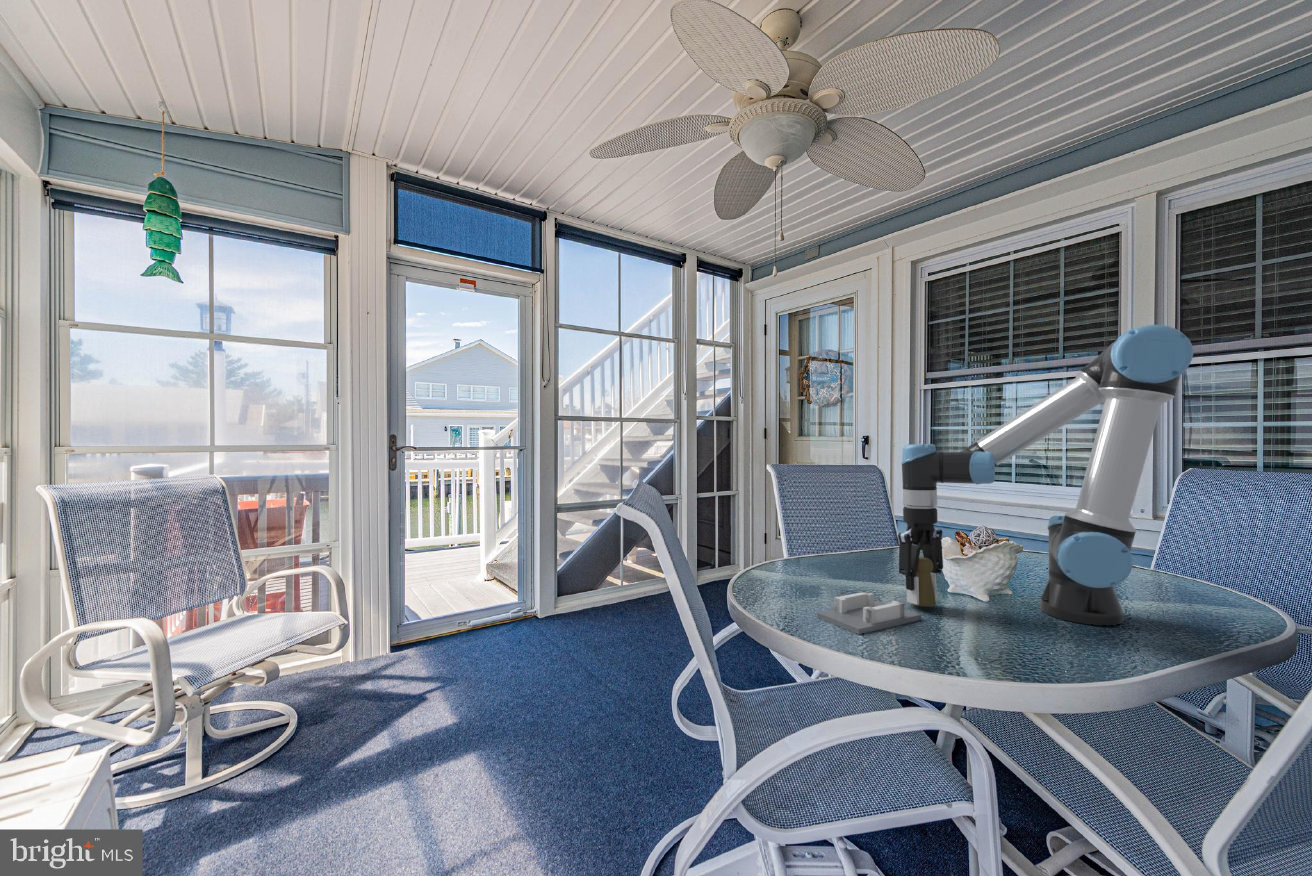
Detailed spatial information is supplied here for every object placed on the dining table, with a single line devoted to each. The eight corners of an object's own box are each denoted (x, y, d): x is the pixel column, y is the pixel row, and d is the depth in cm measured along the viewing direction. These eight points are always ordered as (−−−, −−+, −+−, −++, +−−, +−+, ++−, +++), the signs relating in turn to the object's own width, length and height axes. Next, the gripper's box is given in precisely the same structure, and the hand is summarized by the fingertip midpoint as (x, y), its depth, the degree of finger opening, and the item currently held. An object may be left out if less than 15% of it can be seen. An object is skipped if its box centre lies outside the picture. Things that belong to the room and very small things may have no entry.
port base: (921, 619, 118) (920, 601, 119) (858, 634, 109) (858, 614, 109) (877, 605, 129) (877, 588, 129) (817, 617, 120) (817, 599, 120)
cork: (935, 607, 123) (934, 561, 123) (907, 604, 126) (906, 558, 126) (936, 601, 128) (935, 556, 128) (909, 597, 131) (908, 554, 132)
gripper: (930, 502, 135) (932, 591, 135) (880, 507, 127) (882, 602, 126) (958, 505, 129) (961, 599, 128) (907, 510, 120) (909, 611, 120)
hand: (922, 600), depth 127 cm, fingers closed on cork, 6 cm apart
